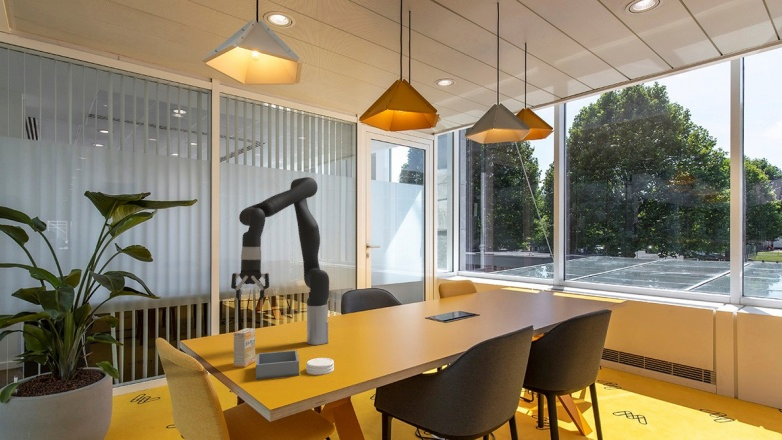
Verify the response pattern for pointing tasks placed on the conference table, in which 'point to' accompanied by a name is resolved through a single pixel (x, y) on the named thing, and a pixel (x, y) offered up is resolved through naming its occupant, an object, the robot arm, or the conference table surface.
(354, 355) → the conference table surface
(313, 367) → the white short cylinder
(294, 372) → the bin
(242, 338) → the supplement box
